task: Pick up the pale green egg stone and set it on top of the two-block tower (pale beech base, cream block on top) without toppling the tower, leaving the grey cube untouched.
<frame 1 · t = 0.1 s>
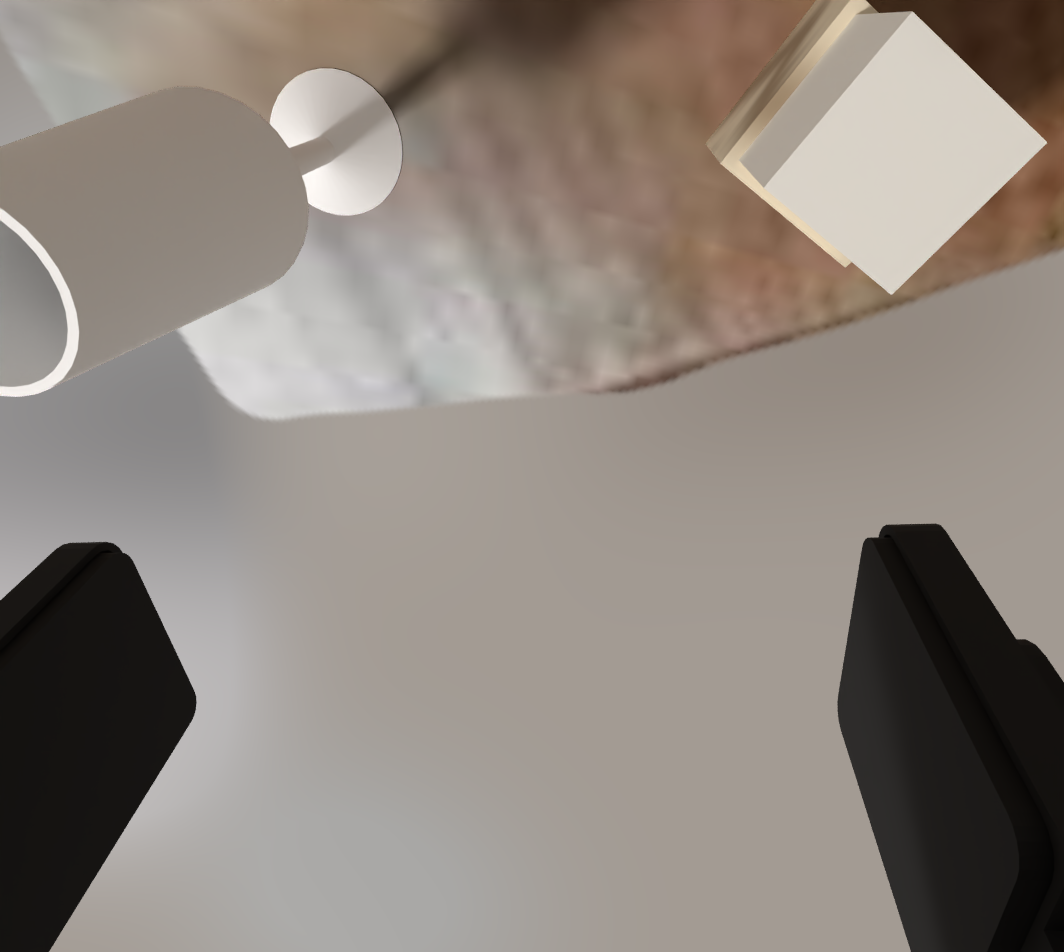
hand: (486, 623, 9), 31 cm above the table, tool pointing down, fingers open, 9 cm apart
tower base: (815, 124, 34), on the table, touching tower top
champagne flute: (337, 144, 36), on the table
tower top: (850, 141, 29), point 6 cm above the table, touching tower base
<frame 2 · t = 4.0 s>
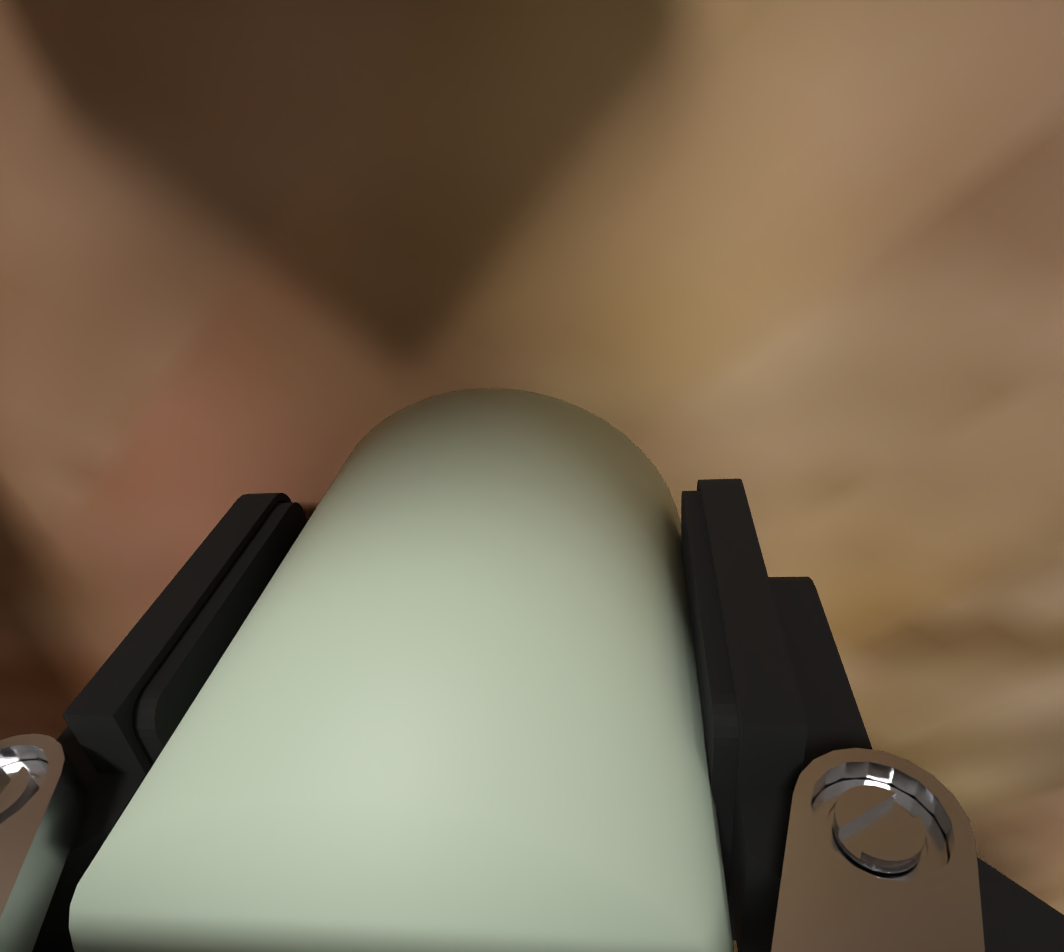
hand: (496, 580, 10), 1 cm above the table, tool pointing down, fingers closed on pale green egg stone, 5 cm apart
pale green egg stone: (503, 549, 11), on the table, touching gripper
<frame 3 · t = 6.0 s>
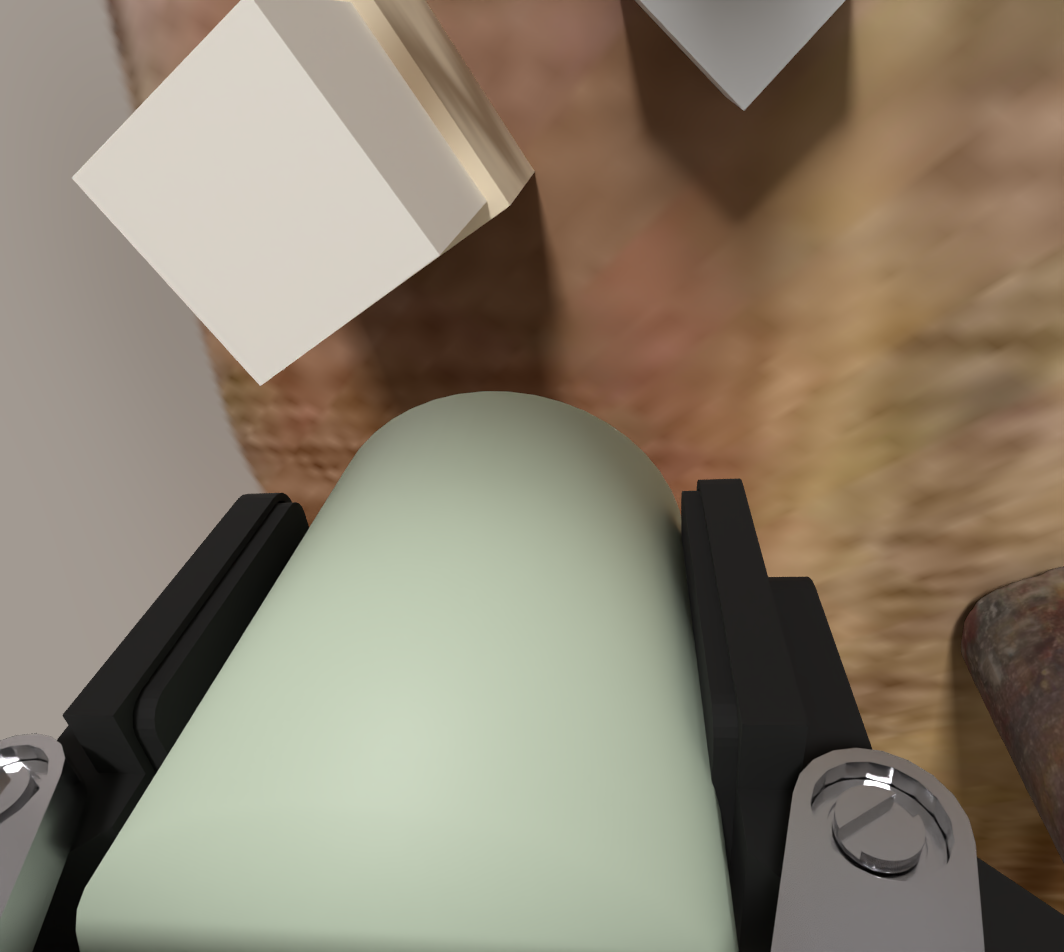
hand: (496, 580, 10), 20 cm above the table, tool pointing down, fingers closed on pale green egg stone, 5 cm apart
tower base: (401, 143, 27), on the table, touching tower top
candle: (1032, 613, 34), on the table
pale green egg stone: (506, 552, 11), point 19 cm above the table, touching gripper
tower top: (345, 171, 21), point 6 cm above the table, touching tower base
when the fingers open (14 cm above the table, at t = 8.2 s): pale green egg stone drops 1 cm, resting on tower top.
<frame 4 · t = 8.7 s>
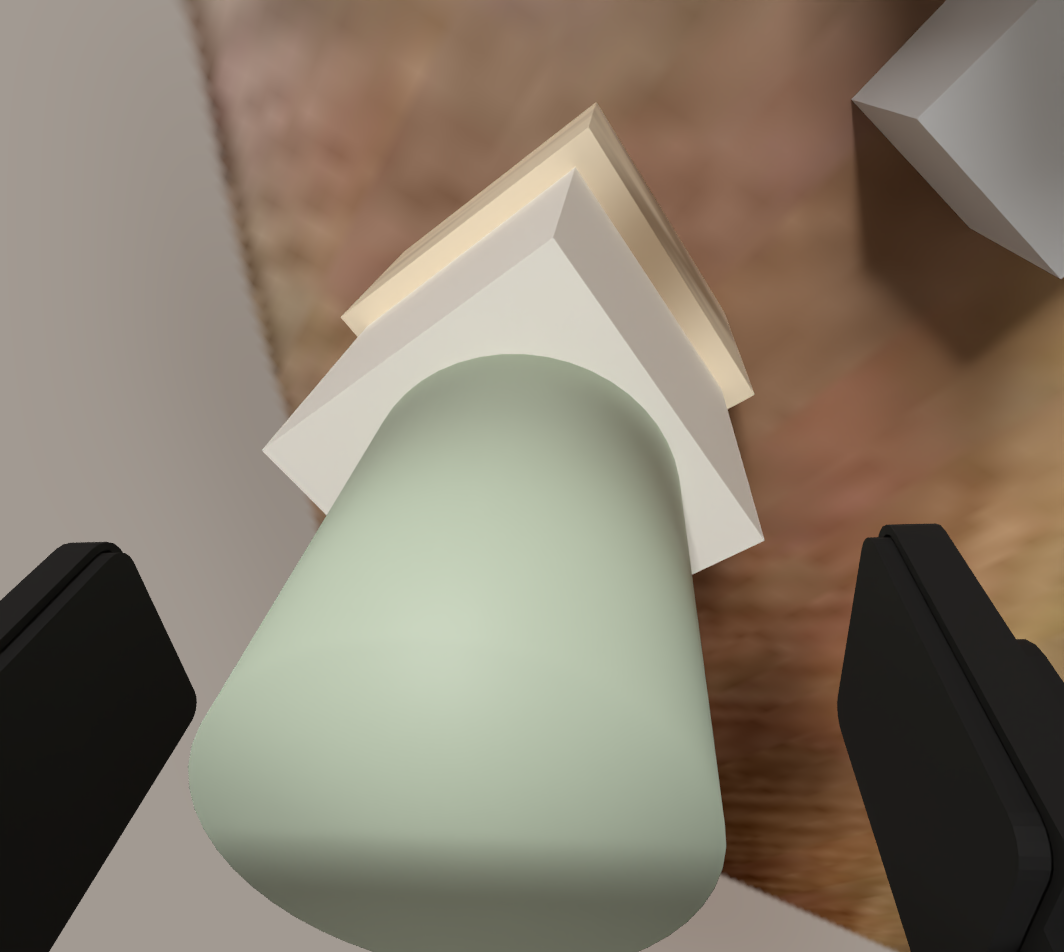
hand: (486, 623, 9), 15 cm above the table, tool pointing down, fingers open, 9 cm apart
tower base: (563, 281, 22), on the table, touching tower top
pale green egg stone: (521, 500, 12), point 12 cm above the table, touching tower top
tower top: (543, 357, 17), point 6 cm above the table, touching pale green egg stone, tower base
grey cube: (996, 84, 19), on the table
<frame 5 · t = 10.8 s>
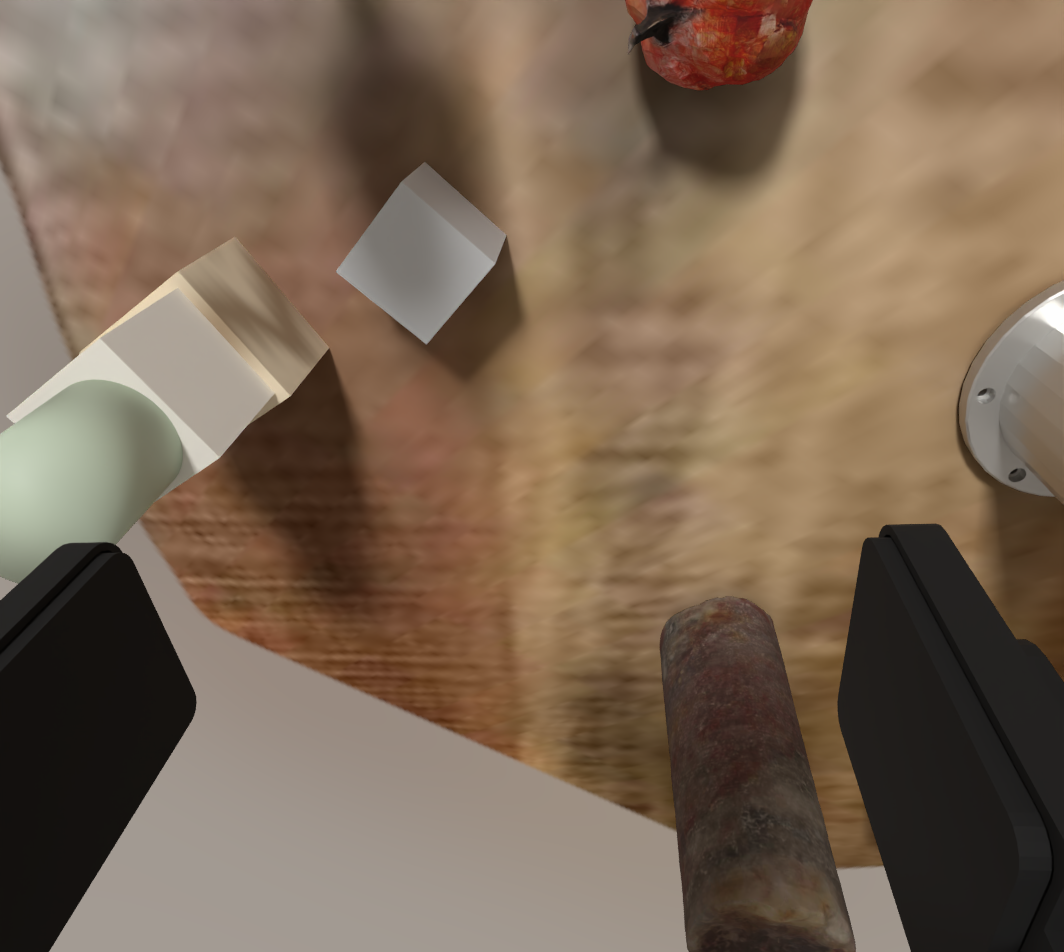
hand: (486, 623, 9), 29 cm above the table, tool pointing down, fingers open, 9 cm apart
tower base: (238, 328, 39), on the table, touching tower top
candle: (712, 628, 48), on the table
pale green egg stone: (117, 439, 29), point 12 cm above the table, touching tower top
tower top: (184, 375, 34), point 6 cm above the table, touching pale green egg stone, tower base
grey cube: (435, 238, 36), on the table
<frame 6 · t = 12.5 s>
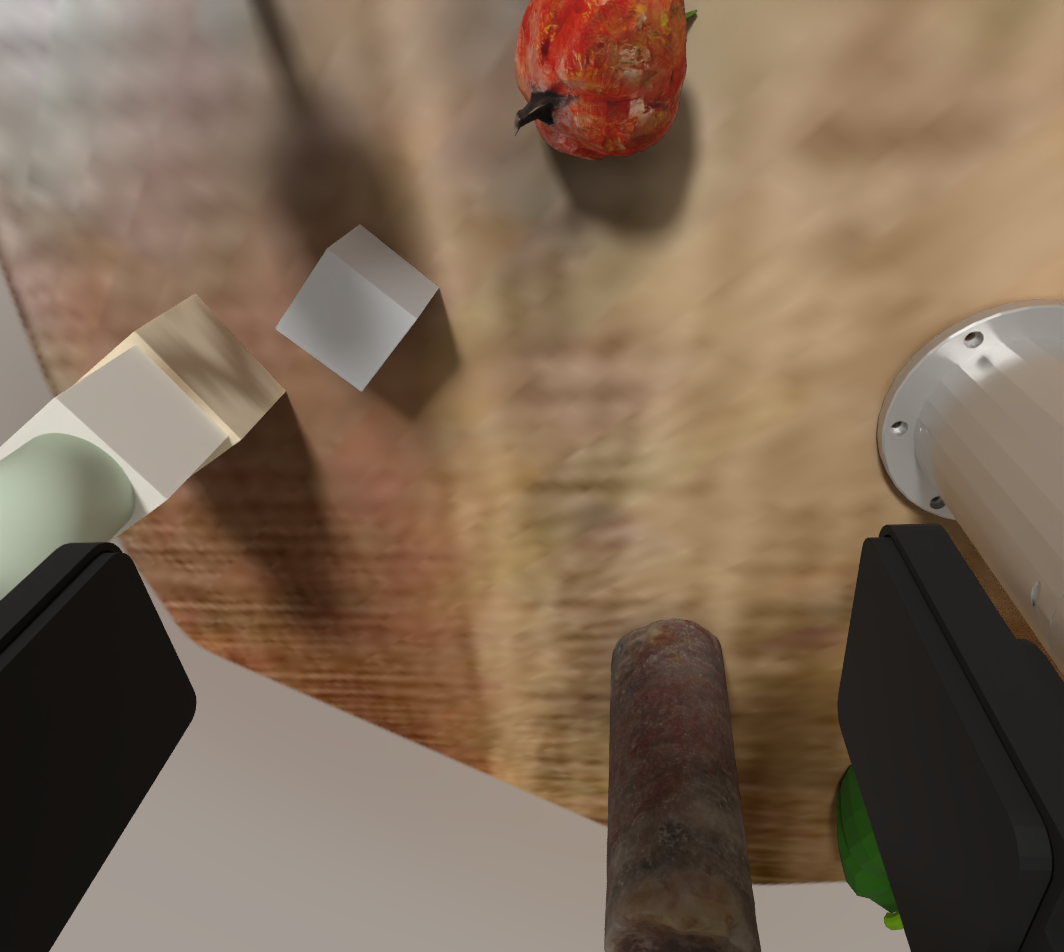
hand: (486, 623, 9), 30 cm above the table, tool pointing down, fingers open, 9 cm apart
tower base: (203, 374, 43), on the table, touching tower top
candle: (663, 648, 50), on the table
bell pepper: (876, 776, 55), on the table
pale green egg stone: (77, 484, 33), point 12 cm above the table, touching tower top
tower top: (147, 421, 38), point 6 cm above the table, touching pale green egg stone, tower base
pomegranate: (608, 55, 32), on the table
grey cube: (375, 291, 39), on the table
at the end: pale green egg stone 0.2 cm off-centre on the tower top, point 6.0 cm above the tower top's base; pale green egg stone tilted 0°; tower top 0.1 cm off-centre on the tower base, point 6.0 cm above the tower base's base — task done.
